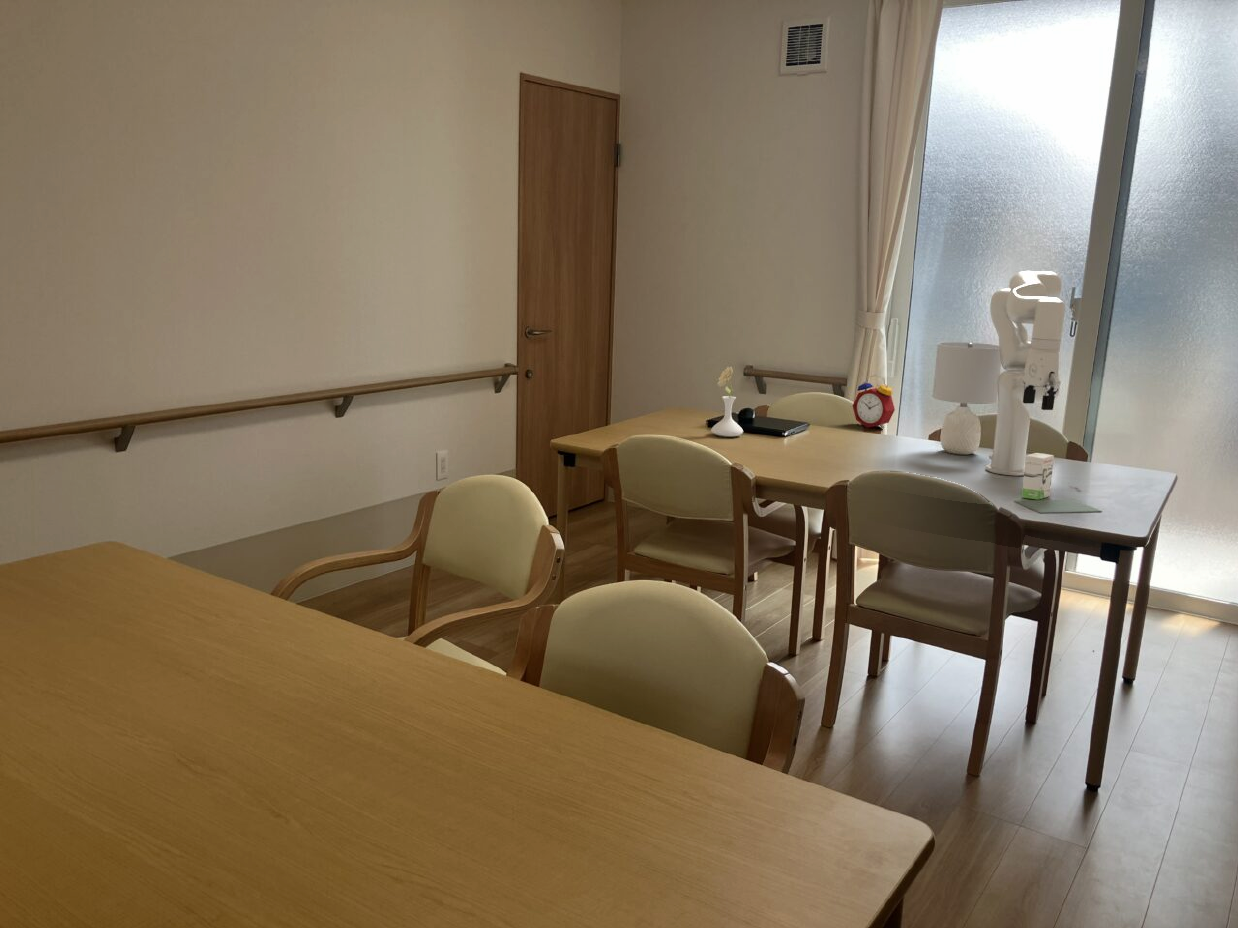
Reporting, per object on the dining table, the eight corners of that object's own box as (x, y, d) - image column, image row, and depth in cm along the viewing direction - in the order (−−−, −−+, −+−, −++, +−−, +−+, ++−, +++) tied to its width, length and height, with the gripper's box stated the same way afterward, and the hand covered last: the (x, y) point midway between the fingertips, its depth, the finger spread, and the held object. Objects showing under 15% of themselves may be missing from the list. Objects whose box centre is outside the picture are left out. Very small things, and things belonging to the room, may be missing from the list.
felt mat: (1014, 501, 271) (1014, 500, 271) (1073, 500, 274) (1073, 499, 274) (1039, 513, 259) (1039, 512, 259) (1101, 512, 263) (1101, 510, 263)
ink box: (1038, 500, 272) (1043, 458, 269) (1020, 497, 275) (1024, 455, 273) (1050, 496, 278) (1054, 454, 276) (1032, 493, 281) (1036, 452, 279)
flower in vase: (711, 431, 359) (715, 362, 353) (743, 433, 357) (747, 364, 352) (709, 438, 346) (713, 367, 340) (742, 440, 344) (746, 368, 339)
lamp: (1003, 457, 329) (1016, 346, 321) (953, 460, 322) (965, 346, 314) (963, 445, 347) (974, 340, 339) (914, 447, 340) (925, 340, 332)
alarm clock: (850, 424, 381) (854, 373, 377) (863, 422, 387) (867, 371, 383) (884, 430, 371) (888, 377, 366) (896, 428, 377) (901, 376, 372)
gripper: (1016, 341, 281) (1009, 400, 285) (1049, 349, 264) (1041, 412, 268) (1041, 341, 282) (1033, 401, 286) (1076, 349, 265) (1067, 412, 269)
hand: (1037, 406), depth 277 cm, fingers open, 9 cm apart
